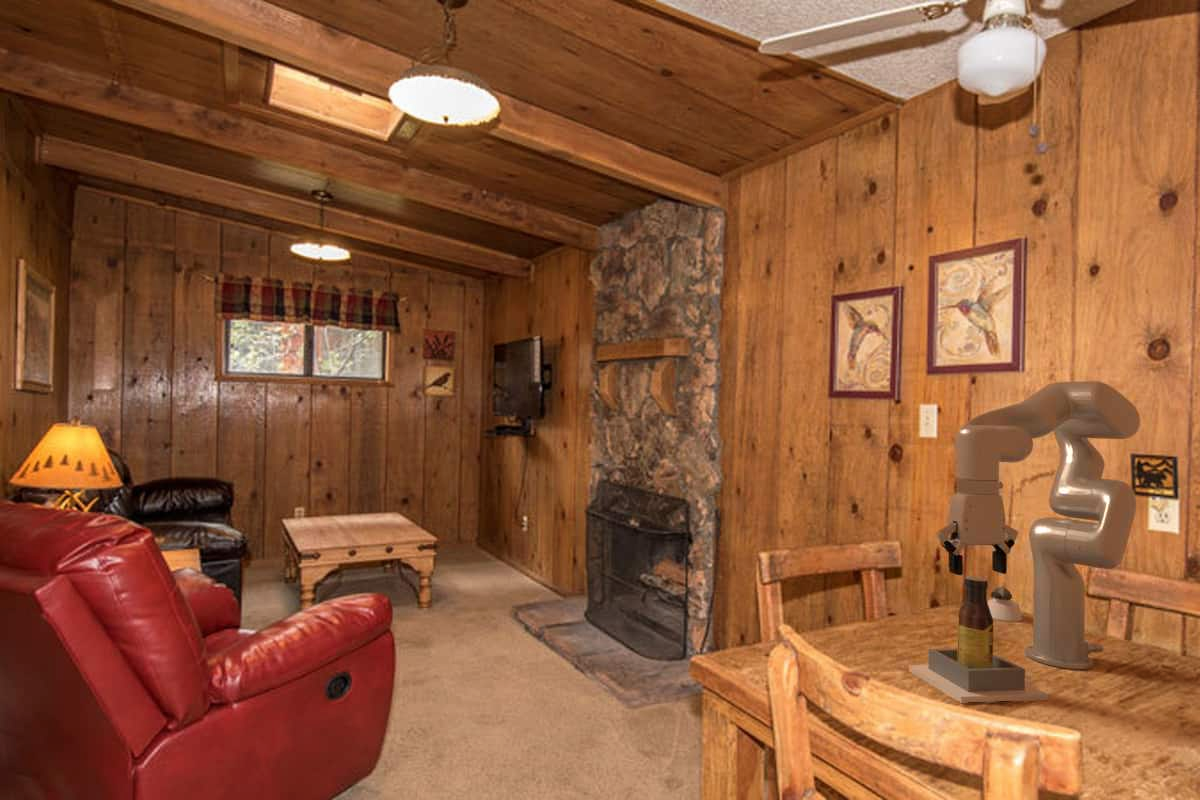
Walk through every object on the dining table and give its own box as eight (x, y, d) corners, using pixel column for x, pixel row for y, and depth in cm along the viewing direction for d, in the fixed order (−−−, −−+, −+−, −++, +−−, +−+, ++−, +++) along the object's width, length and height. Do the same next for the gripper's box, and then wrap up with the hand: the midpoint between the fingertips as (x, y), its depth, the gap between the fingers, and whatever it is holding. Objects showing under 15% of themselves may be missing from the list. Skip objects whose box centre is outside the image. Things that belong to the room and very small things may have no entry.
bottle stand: (986, 668, 144) (986, 644, 144) (1046, 700, 128) (1047, 672, 128) (909, 671, 141) (909, 646, 141) (961, 703, 125) (961, 675, 125)
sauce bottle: (997, 687, 131) (1000, 584, 131) (962, 682, 132) (965, 581, 132) (985, 674, 137) (988, 576, 137) (952, 670, 138) (955, 573, 139)
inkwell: (1021, 615, 186) (1021, 579, 186) (1027, 633, 170) (1027, 593, 171) (983, 610, 191) (983, 575, 191) (985, 626, 175) (985, 588, 175)
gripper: (1002, 485, 141) (1002, 567, 140) (926, 486, 138) (926, 569, 138) (1030, 489, 133) (1030, 576, 133) (951, 490, 131) (951, 579, 130)
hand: (977, 573), depth 135 cm, fingers open, 9 cm apart
